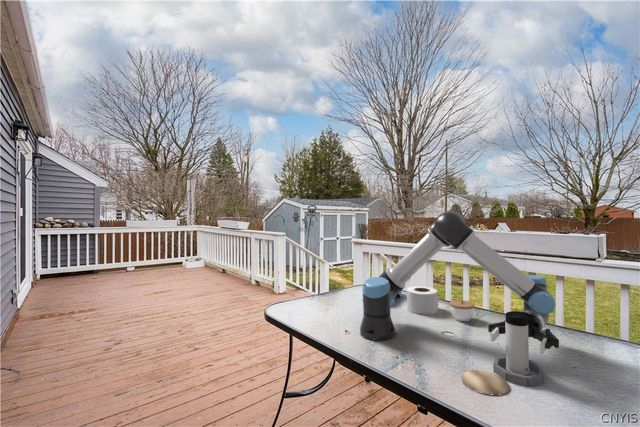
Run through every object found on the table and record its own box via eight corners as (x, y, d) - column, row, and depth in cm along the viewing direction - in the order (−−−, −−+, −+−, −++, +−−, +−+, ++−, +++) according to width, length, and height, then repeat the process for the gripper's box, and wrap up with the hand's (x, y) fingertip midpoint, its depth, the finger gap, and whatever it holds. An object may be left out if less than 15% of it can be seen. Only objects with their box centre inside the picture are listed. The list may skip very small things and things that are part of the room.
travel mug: (533, 379, 98) (532, 316, 97) (510, 378, 99) (509, 315, 99) (525, 369, 104) (524, 309, 104) (503, 367, 105) (502, 309, 105)
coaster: (480, 398, 89) (480, 396, 89) (452, 374, 102) (452, 372, 102) (519, 391, 92) (519, 389, 92) (487, 369, 105) (487, 367, 105)
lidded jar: (446, 316, 155) (445, 297, 155) (466, 314, 156) (466, 296, 156) (457, 324, 144) (457, 304, 144) (479, 322, 145) (479, 302, 145)
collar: (516, 388, 94) (516, 380, 94) (484, 365, 107) (484, 358, 107) (555, 382, 96) (554, 374, 96) (519, 360, 110) (519, 353, 109)
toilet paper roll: (440, 307, 168) (440, 287, 168) (434, 316, 155) (433, 295, 155) (411, 303, 177) (411, 284, 176) (403, 311, 163) (402, 291, 163)
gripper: (573, 343, 106) (565, 368, 91) (492, 325, 123) (474, 343, 108) (573, 321, 106) (565, 342, 91) (492, 306, 123) (473, 322, 108)
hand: (515, 343), depth 99 cm, fingers open, 13 cm apart
